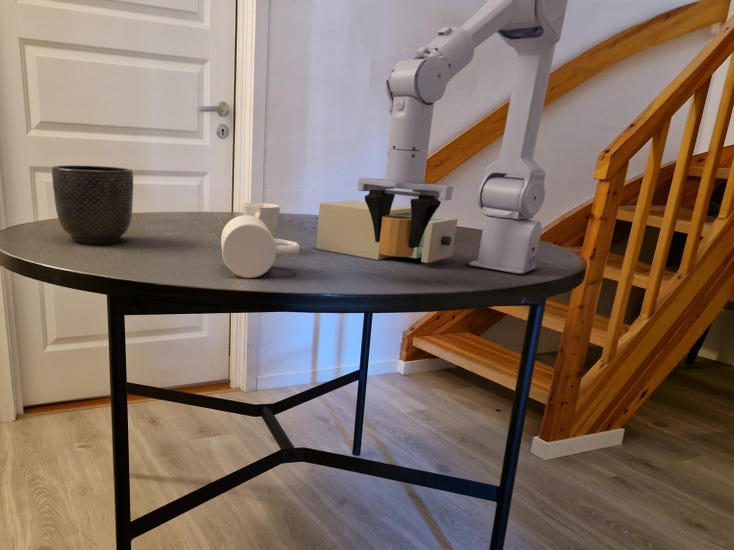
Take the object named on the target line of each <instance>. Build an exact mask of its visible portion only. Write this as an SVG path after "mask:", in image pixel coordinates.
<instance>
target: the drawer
mask: <svg viewBox="0 0 734 550" xmlns="http://www.w3.org/2000/svg"><path fill="white" fill-rule="evenodd" d="M394 215H403V216H411V214H404V213H402V214H394ZM457 226H458V218H454V217H449V218H441V217H434V216H432V218H431V219H430V221H429V223H428V225H427V227H426V229H425V231H424V234H423V236H422V239H421V242H420V245H419V247H416V248H414V251H413V256H410V257H409V258H412V259H419V258H421V260H420V262H421V263H426V264H428V263H432V262H436V261H439V260H440V261H441V260H444V259H447V258H451V257H453V252H454V246H455V238H456V232H457Z"/></svg>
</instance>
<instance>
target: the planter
mask: <svg viewBox="0 0 734 550" xmlns="http://www.w3.org/2000/svg"><path fill="white" fill-rule="evenodd" d="M51 180H52V189H53V197H54V198H53V199H54V205H55V210H56V215H57V220H58V222H59V225H60V227H61V228H62V229H63V231H64V232H65V233H66V234H68V235H69V236H70V237H71V239H72V241H74V242H75V243H78V244H83V245H96V246H97V245H99V246H100V245H111V244H116V243H117V242H119V240H120V239H121V237H122V236H123V235H124V234H125V233H126V232H127V231H128V229H129V228H130V226H131V223H132V222H131V221H132V218H133V217H132V215H133V205H134V170H133V169H132V168H126V167H115V166H105V165H103V166H101V165H53V166H52V167H51Z"/></svg>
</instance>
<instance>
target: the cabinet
mask: <svg viewBox="0 0 734 550" xmlns="http://www.w3.org/2000/svg"><path fill="white" fill-rule="evenodd" d="M402 213H404V214H411V206H410V207H409V206H401V205H394V204H392V207H391V210H390V215H394V214H402ZM379 243H380V242H375V234H374V227H373V222H372V218H371V214H370V211H369V208H368V206H367V204H366V202H365V201H360V200H354V199H353V200H341V201H329V202H319V207H318V221H317V234H316V249H317V250H320V251H325V252H326V251H327V252H333V253H337V254H343V255H347V256H348V255H349V256H354V257H359V258H366V259H371V260H376V261H379V260H384V259H387V258H393V257H394V256H387V255H383V254H380V253H379Z"/></svg>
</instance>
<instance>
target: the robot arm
mask: <svg viewBox="0 0 734 550" xmlns="http://www.w3.org/2000/svg"><path fill="white" fill-rule="evenodd" d="M568 1H569V0H486V1H485V2H486V3H485V4H483V6H481V8H479V9H478V10H477V11H476V12H475V13H474V14H473V15H472V16H471V17H470V18H469V19H468V20H467V21H466V22H464V24H463V25H462V26H459V27H458V26H446V27H441V28H440V29H439V30H438V31H437V33H436V34H437V36H436V38H434V39H433V40H431V41H430V42H429V43H428V44H427V45H426V46H421V47H419V48H418V49H417V50H416V54H415V55H414V56H413V57H412V58H411V59H403V60H400V61H398V63H396V64H395V65H394V67H393V68H392V69H391V71H390V73H389V76H388V78H387V79H385V91H386V94H387V95H386V96H387V97H388V100H389V101H388V102H389V107H388V111H389V114H390V116H391V118H390V126H389V136H388V145H387V154H386V163H385V164H386V165H385V173H384V178H374V177H358V180H357V189H356V190H357V192H368V194H365V195H364V202H366V204H367V206H368V208H369V211H370V214H371V218H372V222H373V227H374V234H375V242H380V234H381V225H382V216H383V215H390V210H391V207H392V205H393V203H394V201H395V197H396V196H407V197H416V198H410V208H411V230H410V237H409V247H410V248H416V247H419V245H420V242H421V239H422V236H423V234H424V231H425V229H426V227H427V225H428V223H429V221H430V219H431V218H432V217H434V215H435V213H436V212H437V210H438V209H439V207H440V206H441V202H442V201H451V200H452V197H453V189H454V186H453V185H447V184H446V185H445V184H438V183H432V182H431V183H430V182H425V177H426V171H427V163H428V155H429V146H430V140H431V139H430V138H431V131H432V130H431V129H432V123H433V117H434V116H433V115H434V107H435V102H437V101H439V100H441V99H442V98H443V96H444V94H445V92H446V89H447V86H448V83H450V82H451V80H452V79H453V78H454V77H455V76H456V75H457V74H458V73H460V72H461V71H462V70H463V69H465V67H467V65H469V64H470V63H471V61H473V58H474V55H475V49H476V48H477V47H478V46H480V45H481V44H482V43H484V42H485V41H486V40H488V39H489V38H491V37H492V36H493V35H495V34H497V35H498V36H499V37H500V38H501V40H503V42H504V43H505V44H507V46H509V47H511V48H513V49H514V50H515V52H516V54H517V62H516V67H515V73H514V77H513V83H512V89H511V93H510V99H509V105H508V110H507V117H506V122H505V127H504V132H503V138H502V142H501V143H502V144H501V148H500V149H501V150H500V154H499V157H498V158H497V159H495V160H494V161H492V162H491V163H490V164H489V165H488V166H486V168H485V171H484V177H483V179H482V181H481V183H480V184H479V186H478V191H477V202H478V203H477V204H478V206H479V208H480V209H481V214H482V215H484V218H483V219H484V220H483V225H482V232H481V237H480V243H479V249H478V255H477V260H473V261H470V262H468V266H472V267H476V268H483V269H488V270H494V271H500V272H505V273H506V272H507V273H511V274H518V275H524V274H526V273H528V272H530V271H532V270H535V269H536V268H537V267H536V261H537V257H538V252H539V248H540V247H539V246H540V242H541V237H542V223H541V221H539V220H533V218H534V216H535V215H537V213H538V212H539V211H540V210H541V208H542V206H543V204H544V201H545V197H546V189H545V180H546V173H547V172H546V171H545V170H544V169H543V167H541V165H539V163H537V161H536V160H535V159H534V155H535V150H536V145H537V140H538V134H539V131H540V126H541V121H542V115H543V111H544V106H545V100H546V96H547V90H548V85H549V81H550V76H551V75H550V74H551V71H552V65H553V60H554V55H555V51H556V45H557V44H558V42H560V40H561V36H562V30H563V28H564V27H563V26H564V22H565V16H566V11H567V6H568ZM507 175H516V176H521V177H515V176H514V177H513V176H507ZM395 189H398V190H395ZM399 189H400V190H399ZM402 190H412V192H411V191H402Z"/></svg>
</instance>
